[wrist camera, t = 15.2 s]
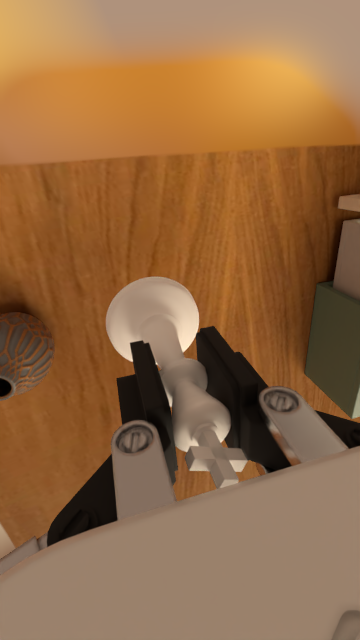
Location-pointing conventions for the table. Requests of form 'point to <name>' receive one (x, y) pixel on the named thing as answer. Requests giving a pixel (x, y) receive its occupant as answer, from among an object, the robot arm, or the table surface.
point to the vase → (23, 353)
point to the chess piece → (177, 370)
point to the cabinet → (335, 347)
